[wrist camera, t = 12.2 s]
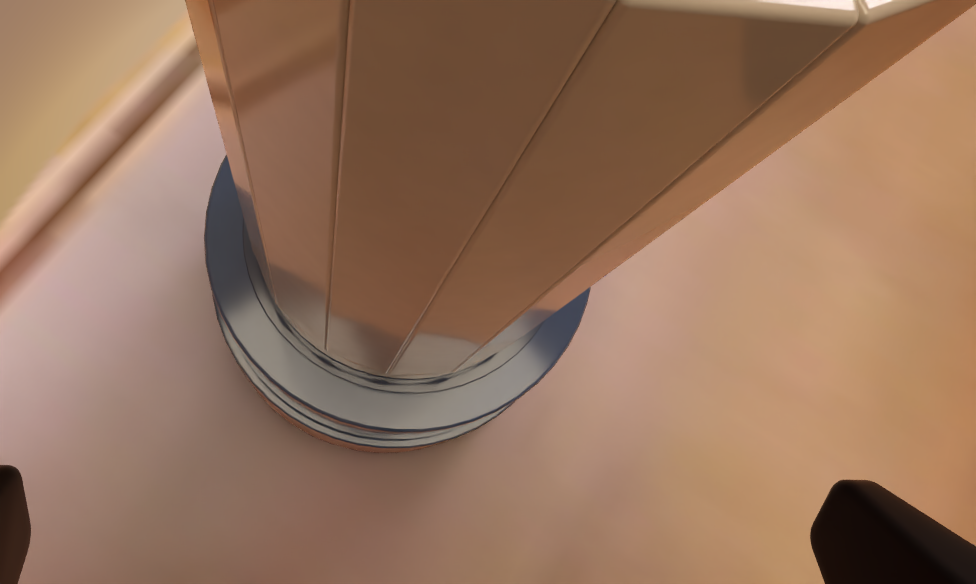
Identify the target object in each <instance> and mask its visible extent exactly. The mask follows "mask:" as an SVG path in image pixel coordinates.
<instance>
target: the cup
mask: <svg viewBox="0 0 976 584" xmlns="http://www.w3.org/2000/svg"><path fill="white" fill-rule="evenodd" d="M185 2H186V5H187V9H188V13H189V17H190V20H191V24H192V28H193V31H194V35H195V39H196V42H197V46H198V50H199V54H200V57H201V61H202V65H203V68H204V72H205V76H206V80H207V83H208V87H209V91H210V94H211V98H212V102H213V105H214V109H215V113H216V117H217V120H218V124H219V128H220V131H221V135H222V139H223V142H224V146H225V150H226V154H227V157H228V161H229V165H230V168H231V172H232V176H233V179H234V183H235V187H236V191H237V194H238V198H239V202H240V205H241V209H242V213H243V216H244V220H245V224H246V228H247V231H248V235H249V239H250V242H251V246H252V250H253V252H254V254H255V257H256V259H257V261H258V264H259V266H260V269H261V272H262V275H263V278H264V281H265V283H266V286H267V288H268V290H269V292H270V294H271V296H272V298H273V300H274V302H275V304H276V305H277V306H278V308H279V309H280V311H281V312H282V314H283V315H284V316H285V318H286V319H287V321H288V322H289V323H290V324H291V325H292V326H293V327H294V328H295V329H296V330H297V331H298V332H299V334H300V335H301V336H302V337H304V338H305V339H306V340H307V341H309V342H310V343H311V344H312V345H313V346H315V347H316V348H317V349H318V350H320V351H322V352H323V353H325V354H326V355H328V356H330V357H331V358H333V359H334V360H336V361H339V362H341V363H343V364H345V365H347V366H350V367H352V368H354V369H357V370H360V371H364V372H367V373H370V374H373V375H378V376H384V377H390V378H401V379H421V378H432V377H438V376H443V375H447V374H451V373H455V372H458V371H461V370H463V369H466V368H469V367H471V366H474V365H476V364H477V363H479V362H481V361H483V360H485V359H487V358H489V357H490V356H492V355H493V354H495V353H497V352H499V351H502V350H504V349H506V348H507V347H509V346H510V345H511V344H513V343H514V342H516V341H517V340H518V339H520V338H521V337H522V336H524V335H525V334H526V333H528V332H529V331H531V330H532V329H533V328H535V327H536V326H537V325H539V324H540V323H541V322H543V321H544V320H546V319H547V318H548V317H550V316H551V315H552V314H554V313H555V312H556V311H558V310H559V309H561V308H562V307H563V306H565V305H566V304H567V303H569V302H570V301H571V300H573V299H574V298H576V297H577V296H578V295H580V294H581V293H582V292H584V291H585V290H586V289H588V288H589V287H591V286H592V285H593V284H595V283H596V282H597V281H599V280H600V279H601V278H603V277H604V276H606V275H607V274H608V273H610V272H611V271H612V270H614V269H615V268H616V267H618V266H619V265H621V264H622V263H623V262H625V261H626V260H627V259H629V258H630V257H631V256H633V255H634V254H636V253H637V252H638V251H640V250H641V249H642V248H644V247H645V246H646V245H648V244H649V243H651V242H652V241H653V240H655V239H656V238H657V237H659V236H660V235H661V234H663V233H664V232H666V231H667V230H668V229H670V228H671V227H672V226H674V225H675V224H676V223H678V222H679V221H681V220H682V219H683V218H685V217H686V216H687V215H689V214H690V213H691V212H693V211H694V210H696V209H697V208H698V207H700V206H701V205H702V204H704V203H705V202H706V201H708V200H709V199H711V198H712V197H713V196H715V195H716V194H717V193H719V192H720V191H721V190H723V189H724V188H726V187H727V186H728V185H730V184H731V183H732V182H734V181H735V180H736V179H738V178H739V177H741V176H742V175H743V174H745V173H746V172H747V171H749V170H750V169H751V168H753V167H754V166H756V165H757V164H758V163H760V162H761V161H762V160H764V159H765V158H766V157H768V156H769V155H771V154H772V153H773V152H775V151H776V150H777V149H779V148H780V147H781V146H783V145H784V144H786V143H787V142H788V141H790V140H791V139H792V138H794V137H795V136H796V135H798V134H799V133H801V132H802V131H803V130H805V129H806V128H807V127H809V126H810V125H811V124H813V123H814V122H816V121H817V120H818V119H820V118H821V117H822V116H824V115H825V114H826V113H828V112H829V111H831V110H832V109H833V108H835V107H836V106H837V105H839V104H840V103H841V102H843V101H844V100H846V99H847V98H848V97H850V96H851V95H852V94H854V93H855V92H856V91H858V90H859V89H861V88H862V87H863V86H865V85H866V84H867V83H869V82H870V81H871V80H873V79H874V78H876V77H877V76H878V75H880V74H881V73H882V72H884V71H885V70H886V69H888V68H889V67H891V66H892V65H893V64H895V63H896V62H897V61H899V60H900V59H901V58H903V57H904V56H906V55H907V54H908V53H910V52H911V51H912V50H914V49H915V48H916V47H918V46H919V45H921V44H922V43H923V42H925V41H926V40H927V39H929V38H930V37H931V36H933V35H934V34H936V33H937V32H938V31H940V30H941V29H942V28H944V27H945V26H946V25H948V24H949V23H951V22H952V21H953V20H955V19H956V18H957V17H959V16H960V15H961V14H963V13H964V12H966V11H967V10H968V9H970V8H971V7H972V6H974V5H975V4H976V0H185Z"/></svg>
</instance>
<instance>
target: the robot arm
mask: <svg viewBox="0 0 976 584" xmlns="http://www.w3.org/2000/svg"><path fill="white" fill-rule="evenodd" d="M30 537H31V524H30V518H29V513H28V507H27V502H26V497H25V492H24V486H23V481H22V477H21V474H20V472H19V470H18V469H17V468H16V467H13V466H10V465H0V584H18V581H19V577H20V574H21V571H22V568H23V565H24V562H25V558H26V555H27V552H28V548H29V544H30ZM810 539H811V545H812V549H813V552H814V555H815V557H816V560H817V563H818V566H819V568H820V571H821V574H822V577H823V579H824V582H825V584H976V546H974V545H972V544H971V543H969V542H968V541H966V540H965V539H963V538H961V537H960V536H958V535H957V534H955V533H954V532H952V531H951V530H949V529H947V528H946V527H944V526H943V525H941V524H940V523H938V522H936V521H935V520H933V519H932V518H930V517H929V516H927V515H926V514H924V513H922V512H921V511H919V510H918V509H916V508H915V507H913V506H911V505H910V504H908V503H907V502H905V501H904V500H902V499H900V498H899V497H897V496H896V495H894V494H893V493H891V492H890V491H888V490H886V489H885V488H883V487H882V486H880V485H879V484H877V483H875V482H872V481H868V480H841V481H838V482H837V483H836V484H834V485H833V487H832V488H831V490H830V492H829V494H828V496H827V498H826V500H825V501H824V503H823V505H822V507H821V509H820V511H819V513H818V515H817V517H816V519H815V521H814V523H813V525H812V527H811V533H810Z"/></svg>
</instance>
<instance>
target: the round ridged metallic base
mask: <svg viewBox="0 0 976 584" xmlns="http://www.w3.org/2000/svg"><path fill="white" fill-rule="evenodd" d="M204 245H205V261H206V267H207V272H208V277H209V281H210V286H211V290H212V296H213V301H214V305H215V310H216V315H217V319H218V322H219V325H220V327H221V330H222V333H223V336H224V338H225V341H226V343H227V345H228V347H229V349H230V351H231V352H232V354H233V356H234V358H235V360H236V362H237V364H238V365H239V367H240V368H241V370H242V371H243V373H244V375H245V376H246V378H247V379H248V380H249V382H250V383H251V384H252V386H253V387H254V389H255V390H256V391H257V393H258V394H259V395H260V396H261V397H262V398H263V399H264V400H265V401H266V402H267V403H268V405H269V406H270V407H271V408H272V409H273V410H274V411H276V412H277V413H278V414H279V415H281V416H282V417H283V418H284V419H286V420H287V421H288V422H290V423H291V424H292V425H294V426H296V427H297V428H299V429H301V430H302V431H304V432H306V433H308V434H309V435H311V436H313V437H316V438H318V439H320V440H323V441H325V442H328V443H330V444H333V445H337V446H340V447H344V448H348V449H352V450H357V451H365V452H373V453H398V452H405V451H413V450H419V449H423V448H426V447H430V446H434V445H437V444H441V443H443V442H446V441H449V440H452V439H455V438H457V437H459V436H462V435H464V434H466V433H469V432H471V431H473V430H475V429H477V428H479V427H481V426H482V425H484V424H486V423H487V422H489V421H491V420H492V419H494V418H496V417H497V416H498V415H499V414H501V413H502V412H503V411H504V410H506V409H507V408H508V407H509V406H511V405H512V404H513V403H514V402H515V401H516V400H517V399H519V398H520V397H521V396H523V395H524V394H525V393H526V392H528V391H529V390H530V389H531V388H533V387H534V386H535V385H536V384H538V383H539V382H540V380H541V379H542V378H543V377H544V376H545V375H546V374H547V373H548V372H549V371H550V370H551V369H552V368H553V367H554V366H555V364H556V363H557V361H558V360H559V359H560V357H561V356H562V354H563V353H564V352H565V350H566V349H567V347H568V346H569V344H570V342H571V340H572V338H573V336H574V334H575V332H576V330H577V329H578V327H579V325H580V322H581V319H582V316H583V313H584V311H585V308H586V305H587V302H588V297H589V292H590V288H591V287H589V288H588V289H586V290H585V291H584V292H582V293H581V294H580V295H578V296H577V297H576V298H574V299H573V300H571V301H570V302H569V303H567V304H566V305H565V306H563V307H562V308H561V309H559V310H558V311H556V312H555V313H554V314H552V315H551V316H550V317H548V318H547V319H546V320H544V321H543V322H541V323H540V324H539V325H537V326H536V327H535V328H533V329H532V330H531V331H529V332H528V333H526V334H525V335H524V336H522V337H521V338H520V339H518V340H517V341H516V342H514V343H513V344H511V345H510V346H509V347H507V348H506V349H504V350H502V351H499V352H497V353H495V354H493V355H492V356H490V357H489V358H487V359H485V360H483V361H481V362H479V363H477V364H476V365H474V366H471V367H469V368H466V369H463V370H461V371H458V372H455V373H451V374H447V375H443V376H438V377H432V378H421V379H401V378H390V377H384V376H378V375H373V374H370V373H367V372H364V371H360V370H357V369H354V368H352V367H350V366H347V365H345V364H343V363H341V362H339V361H336V360H334V359H333V358H331V357H330V356H328V355H326V354H325V353H323V352H322V351H320V350H318V349H317V348H316V347H315V346H313V345H312V344H311V343H310V342H309V341H307V340H306V339H305V338H304V337H302V336H301V335H300V334H299V332H298V331H297V330H296V329H295V328H294V327H293V326H292V325H291V324H290V323H289V322H288V321H287V319H286V318H285V316H284V315H283V314H282V312H281V311H280V309H279V308H278V306H277V305H276V304H275V302H274V300H273V298H272V296H271V294H270V292H269V290H268V288H267V286H266V283H265V281H264V278H263V275H262V272H261V269H260V266H259V264H258V261H257V259H256V257H255V254H254V252H253V250H252V246H251V242H250V239H249V235H248V231H247V228H246V224H245V220H244V216H243V213H242V209H241V205H240V202H239V198H238V194H237V191H236V187H235V183H234V179H233V176H232V172H231V168H230V165H229V161H228V157H227V155H226V156H225V158H224V160H223V162H222V163H221V165H220V168H219V171H218V173H217V176H216V178H215V181H214V183H213V186H212V189H211V193H210V198H209V202H208V206H207V210H206V220H205V232H204Z"/></svg>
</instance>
